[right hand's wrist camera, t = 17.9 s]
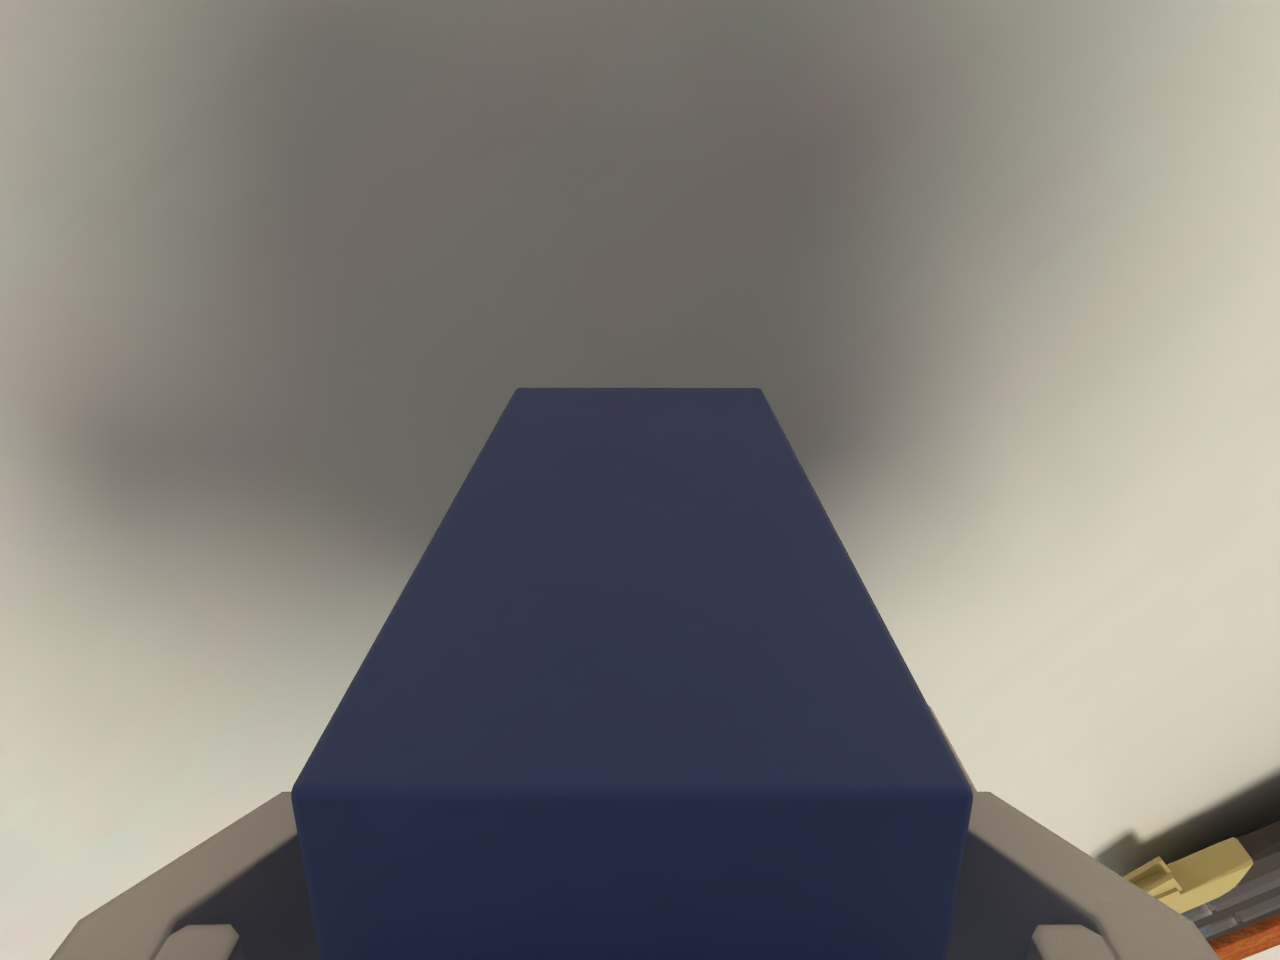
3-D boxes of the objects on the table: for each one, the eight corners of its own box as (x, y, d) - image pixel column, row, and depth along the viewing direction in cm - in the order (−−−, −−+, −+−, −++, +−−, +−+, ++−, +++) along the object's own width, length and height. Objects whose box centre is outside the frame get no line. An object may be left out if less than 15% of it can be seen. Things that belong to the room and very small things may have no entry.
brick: (533, 740, 16) (402, 1441, 7) (515, 386, 14) (284, 791, 5) (743, 741, 16) (866, 1443, 7) (761, 387, 14) (979, 793, 5)
